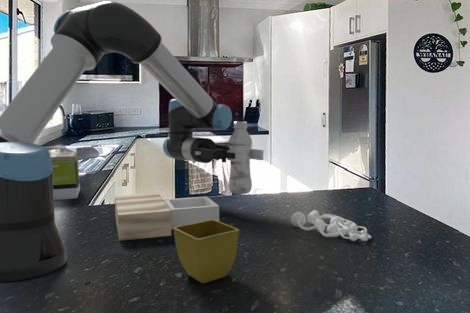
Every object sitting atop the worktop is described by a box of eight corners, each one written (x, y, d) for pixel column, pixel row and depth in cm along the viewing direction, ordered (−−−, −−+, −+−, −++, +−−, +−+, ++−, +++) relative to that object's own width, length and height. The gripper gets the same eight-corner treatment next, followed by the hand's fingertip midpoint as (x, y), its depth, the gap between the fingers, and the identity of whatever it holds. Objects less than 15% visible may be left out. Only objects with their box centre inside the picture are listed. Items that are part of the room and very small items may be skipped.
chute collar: (219, 225, 106) (219, 206, 106) (171, 229, 103) (170, 209, 102) (207, 213, 118) (207, 196, 118) (164, 217, 114) (163, 199, 114)
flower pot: (198, 291, 68) (197, 238, 67) (173, 274, 75) (172, 226, 74) (240, 278, 73) (240, 229, 72) (213, 263, 80) (213, 218, 79)
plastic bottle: (224, 195, 113) (223, 121, 110) (235, 190, 119) (235, 121, 116) (245, 197, 110) (245, 122, 107) (255, 193, 116) (256, 121, 113)
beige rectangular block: (171, 235, 98) (170, 210, 97) (119, 240, 94) (118, 215, 93) (158, 213, 119) (158, 192, 118) (115, 216, 115) (114, 195, 114)
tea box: (51, 192, 150) (48, 151, 148) (80, 190, 153) (78, 150, 151) (45, 201, 135) (42, 156, 134) (78, 198, 138) (75, 155, 137)
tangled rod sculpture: (385, 242, 97) (387, 225, 97) (346, 249, 88) (348, 231, 88) (323, 221, 112) (324, 206, 112) (284, 226, 104) (285, 210, 104)
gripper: (222, 159, 133) (277, 166, 116) (174, 164, 120) (227, 173, 103) (222, 136, 132) (277, 140, 115) (173, 139, 119) (227, 143, 102)
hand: (253, 155), depth 109 cm, fingers closed on plastic bottle, 6 cm apart
